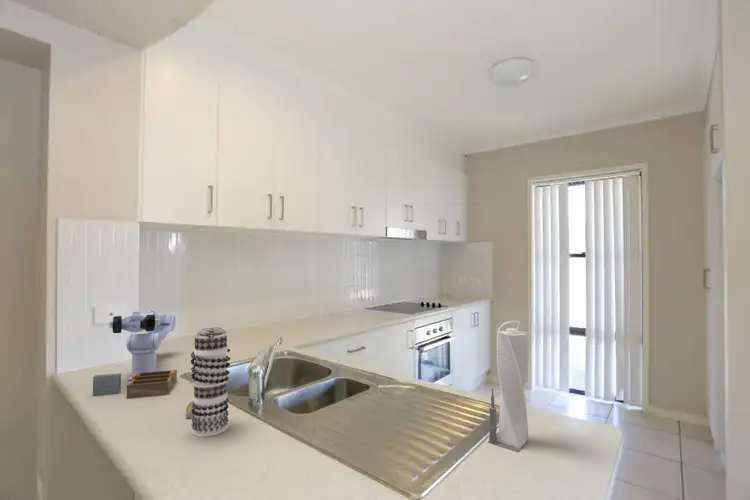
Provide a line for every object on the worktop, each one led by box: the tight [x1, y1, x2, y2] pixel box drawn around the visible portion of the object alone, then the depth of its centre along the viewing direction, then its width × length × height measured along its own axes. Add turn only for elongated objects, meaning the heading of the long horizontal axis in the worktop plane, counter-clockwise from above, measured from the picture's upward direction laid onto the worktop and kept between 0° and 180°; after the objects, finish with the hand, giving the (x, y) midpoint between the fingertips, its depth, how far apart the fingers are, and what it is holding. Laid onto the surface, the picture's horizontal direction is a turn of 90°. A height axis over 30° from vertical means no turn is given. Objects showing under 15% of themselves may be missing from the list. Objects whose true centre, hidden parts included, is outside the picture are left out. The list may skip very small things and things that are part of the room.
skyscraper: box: [487, 320, 530, 453], centre depth 88 cm, size 8×8×28 cm
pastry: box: [185, 400, 194, 420], centre depth 105 cm, size 9×7×4 cm
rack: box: [126, 369, 178, 400], centre depth 123 cm, size 14×11×5 cm
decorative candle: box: [190, 326, 231, 438], centre depth 95 cm, size 9×9×25 cm
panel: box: [92, 373, 122, 397], centre depth 119 cm, size 2×7×6 cm, turn 108°
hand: (127, 325), depth 120 cm, fingers open, 7 cm apart
